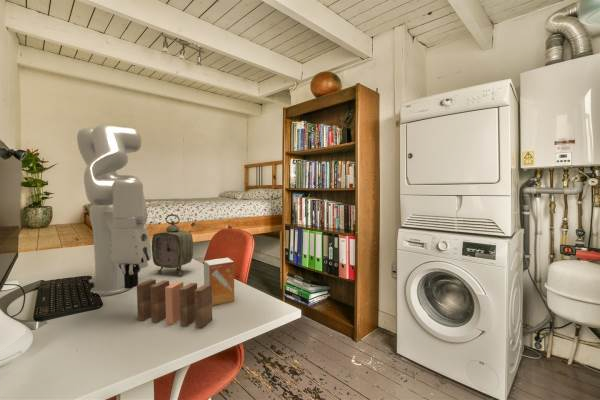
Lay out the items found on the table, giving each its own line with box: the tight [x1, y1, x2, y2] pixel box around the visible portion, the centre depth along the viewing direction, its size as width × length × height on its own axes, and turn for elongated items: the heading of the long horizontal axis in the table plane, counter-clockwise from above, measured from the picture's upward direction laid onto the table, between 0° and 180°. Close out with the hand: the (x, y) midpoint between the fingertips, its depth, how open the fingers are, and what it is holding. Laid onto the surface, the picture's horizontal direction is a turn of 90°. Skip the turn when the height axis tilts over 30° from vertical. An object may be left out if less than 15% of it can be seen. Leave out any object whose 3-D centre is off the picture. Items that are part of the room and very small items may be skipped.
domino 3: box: [165, 280, 184, 325], centre depth 80 cm, size 2×5×10 cm, turn 166°
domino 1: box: [136, 278, 157, 322], centre depth 82 cm, size 2×5×10 cm, turn 166°
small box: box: [203, 257, 235, 307], centre depth 93 cm, size 8×6×13 cm
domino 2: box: [150, 279, 170, 324], centre depth 81 cm, size 2×5×10 cm, turn 167°
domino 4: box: [179, 282, 198, 327], centre depth 79 cm, size 2×5×10 cm, turn 166°
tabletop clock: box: [151, 213, 194, 277], centre depth 122 cm, size 14×9×25 cm, turn 73°
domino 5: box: [194, 283, 213, 329], centre depth 78 cm, size 2×5×10 cm, turn 166°
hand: (131, 286), depth 83 cm, fingers closed
